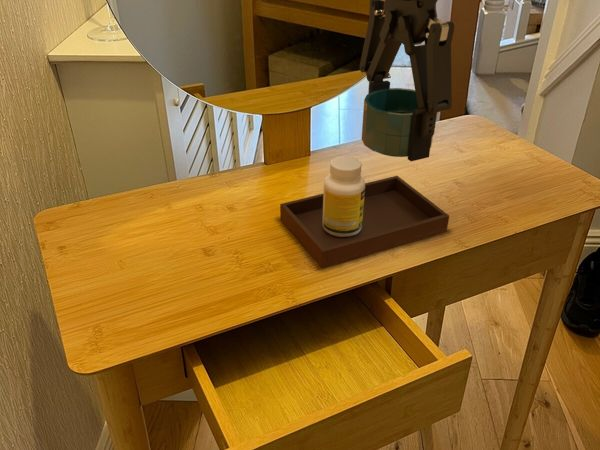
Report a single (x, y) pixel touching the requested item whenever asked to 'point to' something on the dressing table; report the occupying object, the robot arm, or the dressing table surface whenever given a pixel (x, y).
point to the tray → (366, 222)
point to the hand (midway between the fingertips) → (396, 142)
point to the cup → (389, 120)
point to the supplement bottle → (343, 197)
